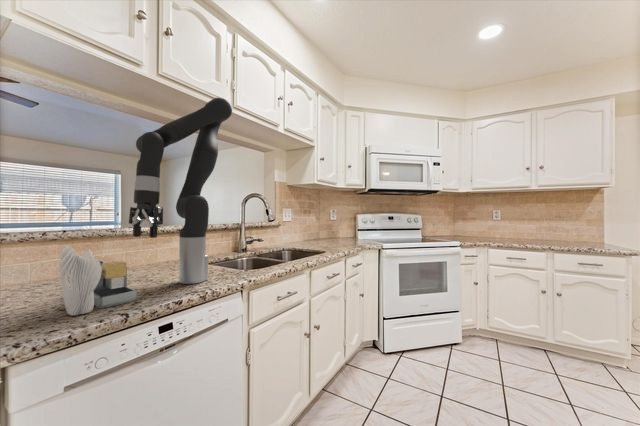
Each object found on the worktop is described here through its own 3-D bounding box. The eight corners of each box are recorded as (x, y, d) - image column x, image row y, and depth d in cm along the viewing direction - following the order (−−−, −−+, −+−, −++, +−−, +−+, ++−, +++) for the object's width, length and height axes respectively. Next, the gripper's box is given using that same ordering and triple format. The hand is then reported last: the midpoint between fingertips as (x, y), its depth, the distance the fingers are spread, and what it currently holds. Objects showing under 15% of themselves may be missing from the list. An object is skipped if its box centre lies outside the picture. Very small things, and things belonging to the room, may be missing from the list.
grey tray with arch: (120, 292, 91) (120, 264, 91) (137, 300, 83) (137, 269, 83) (85, 299, 84) (85, 268, 84) (100, 308, 76) (100, 274, 76)
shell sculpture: (94, 305, 79) (94, 242, 79) (102, 312, 73) (102, 244, 73) (54, 313, 72) (54, 244, 72) (59, 321, 67) (60, 247, 67)
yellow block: (121, 273, 86) (121, 260, 86) (126, 275, 83) (126, 262, 83) (101, 276, 82) (101, 263, 82) (106, 278, 79) (106, 264, 79)
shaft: (100, 284, 94) (100, 260, 94) (123, 295, 82) (123, 268, 82) (88, 286, 92) (89, 261, 92) (111, 297, 79) (111, 269, 79)
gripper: (171, 191, 97) (168, 237, 96) (144, 192, 103) (141, 236, 102) (150, 188, 90) (147, 238, 89) (123, 189, 96) (120, 236, 95)
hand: (144, 237), depth 95 cm, fingers open, 8 cm apart
